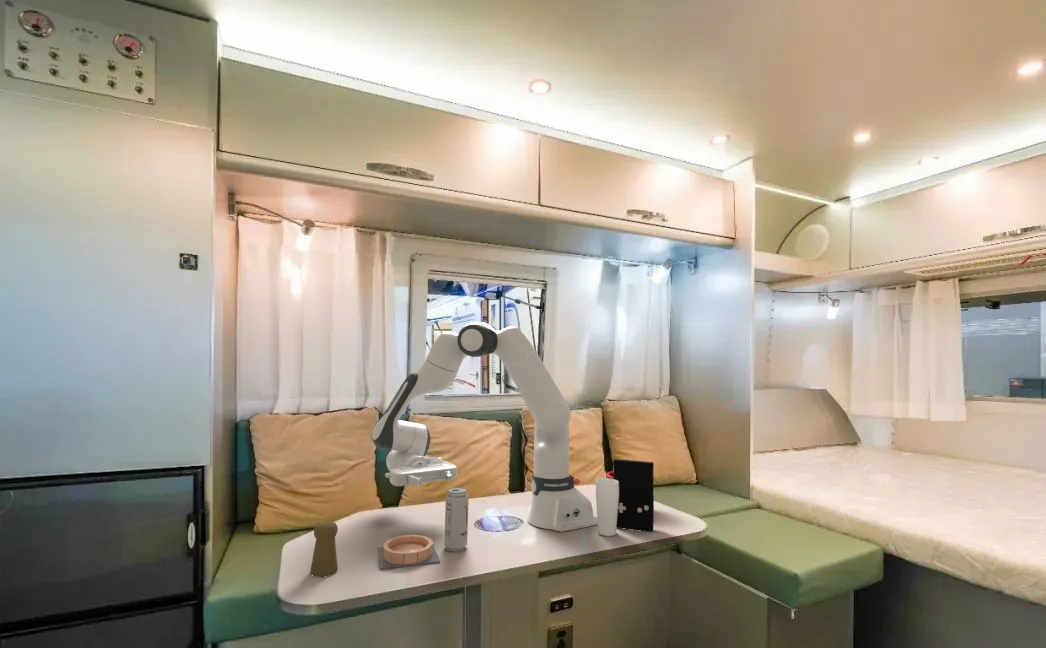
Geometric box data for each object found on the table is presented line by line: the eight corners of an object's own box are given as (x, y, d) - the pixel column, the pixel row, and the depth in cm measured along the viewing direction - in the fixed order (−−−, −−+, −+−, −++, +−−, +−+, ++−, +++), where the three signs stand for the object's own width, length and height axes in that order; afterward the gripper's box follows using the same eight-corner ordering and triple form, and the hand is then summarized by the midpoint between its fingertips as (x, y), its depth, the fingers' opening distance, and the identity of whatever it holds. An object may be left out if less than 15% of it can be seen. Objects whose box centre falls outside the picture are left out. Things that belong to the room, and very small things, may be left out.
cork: (315, 565, 114) (317, 518, 115) (341, 565, 115) (343, 518, 116) (305, 577, 108) (308, 527, 109) (333, 577, 109) (335, 527, 110)
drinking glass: (618, 539, 135) (619, 484, 136) (594, 536, 136) (595, 483, 137) (619, 530, 142) (619, 479, 143) (595, 528, 143) (596, 477, 144)
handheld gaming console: (612, 528, 144) (612, 460, 145) (614, 523, 148) (614, 457, 149) (653, 533, 140) (653, 463, 141) (654, 528, 144) (654, 460, 146)
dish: (432, 542, 130) (432, 531, 130) (439, 562, 117) (440, 550, 118) (378, 548, 125) (378, 537, 125) (380, 569, 113) (380, 557, 113)
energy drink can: (466, 552, 124) (468, 493, 125) (443, 552, 123) (445, 493, 125) (467, 543, 130) (469, 487, 131) (445, 543, 129) (446, 487, 130)
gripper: (383, 463, 143) (401, 473, 131) (444, 456, 155) (466, 465, 144) (382, 484, 142) (400, 496, 131) (443, 476, 154) (465, 486, 143)
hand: (435, 480), depth 137 cm, fingers open, 8 cm apart
